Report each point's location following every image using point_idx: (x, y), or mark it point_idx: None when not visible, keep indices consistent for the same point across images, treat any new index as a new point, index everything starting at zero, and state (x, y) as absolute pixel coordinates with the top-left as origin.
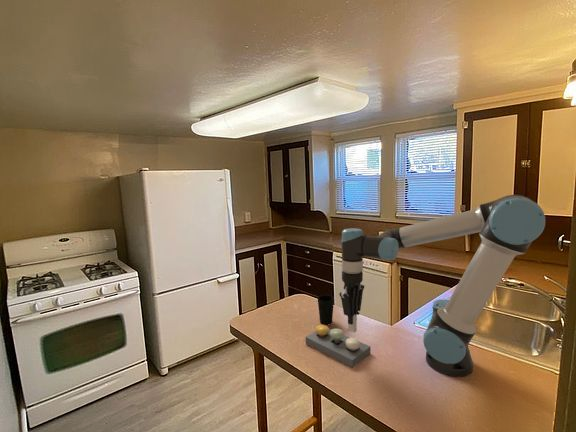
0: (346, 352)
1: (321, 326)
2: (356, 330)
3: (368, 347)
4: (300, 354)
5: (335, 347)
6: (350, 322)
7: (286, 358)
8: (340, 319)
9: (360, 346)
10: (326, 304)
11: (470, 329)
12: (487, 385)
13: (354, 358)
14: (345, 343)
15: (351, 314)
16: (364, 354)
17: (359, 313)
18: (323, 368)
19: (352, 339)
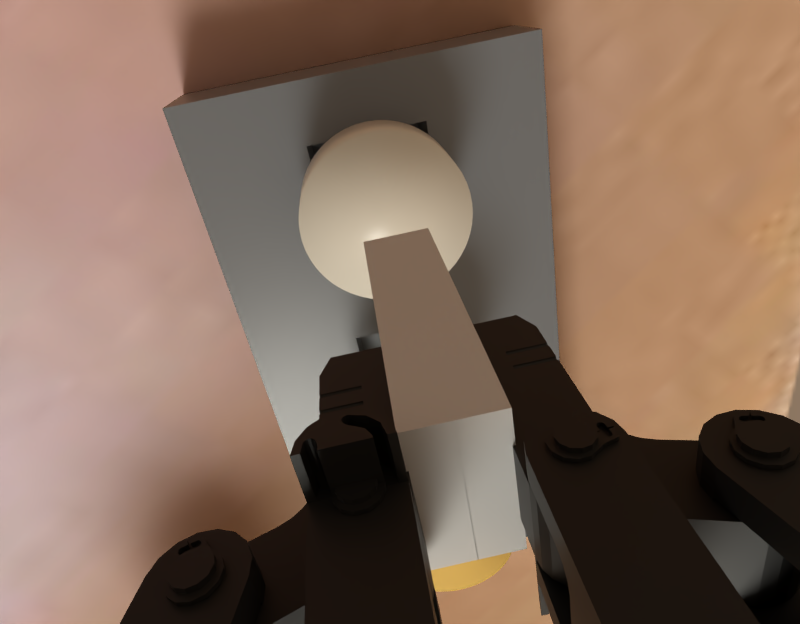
0: (481, 179)
1: (440, 570)
2: (365, 248)
3: (200, 107)
4: (673, 403)
5: (501, 301)
6: (545, 349)
7: (770, 410)
8: (85, 615)
9: (272, 177)
10: None
11: None
12: None
13: (502, 37)
14: (370, 304)
15: (643, 469)
16: (297, 75)
17: (300, 439)
18: (699, 179)
19: (356, 256)
